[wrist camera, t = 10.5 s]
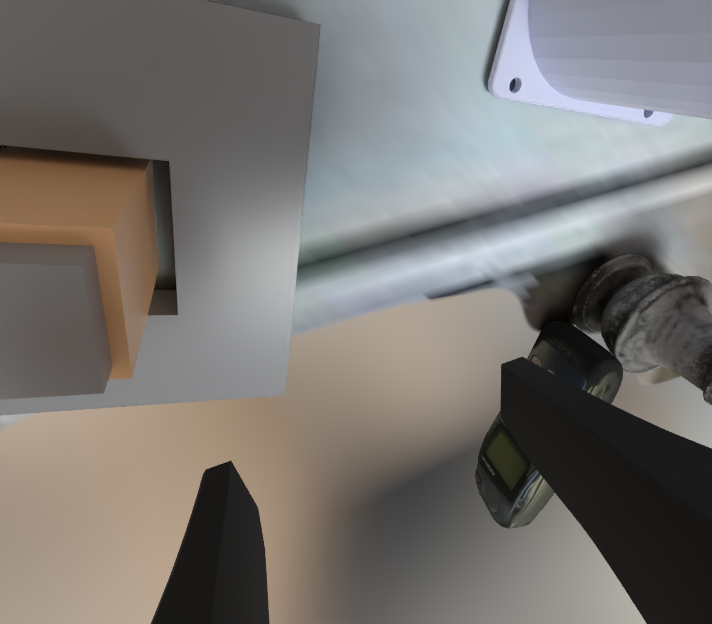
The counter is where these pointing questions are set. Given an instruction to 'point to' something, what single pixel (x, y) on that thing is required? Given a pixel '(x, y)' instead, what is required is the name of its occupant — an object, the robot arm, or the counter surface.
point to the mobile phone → (499, 449)
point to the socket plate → (181, 170)
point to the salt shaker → (650, 318)
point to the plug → (73, 269)
